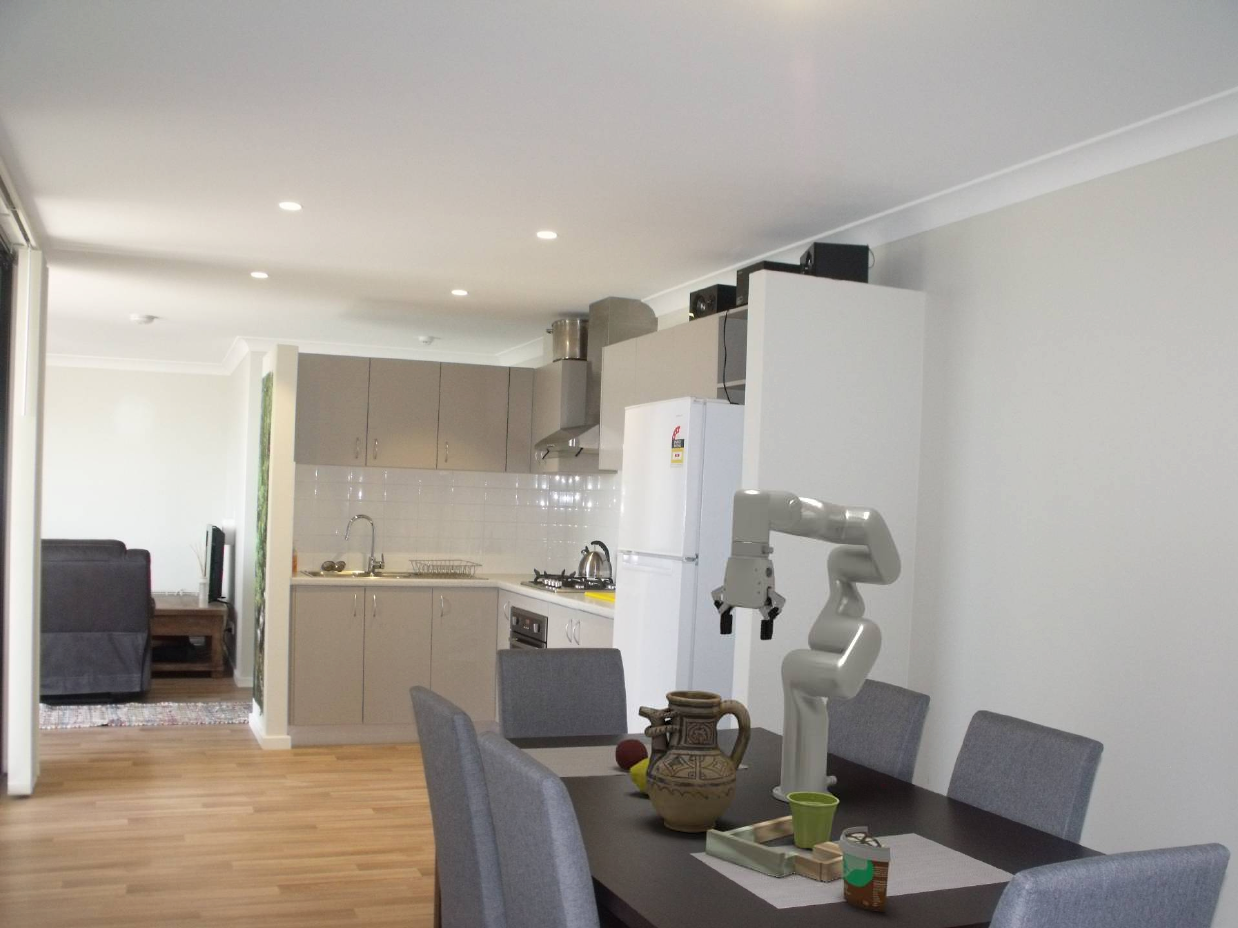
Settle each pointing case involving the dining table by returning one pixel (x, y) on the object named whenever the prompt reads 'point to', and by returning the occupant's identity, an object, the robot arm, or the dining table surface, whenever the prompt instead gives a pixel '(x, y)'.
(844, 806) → the dining table surface
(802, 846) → the plant pot
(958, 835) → the dining table surface
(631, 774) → the lemon
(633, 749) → the dark red ball
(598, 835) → the dining table surface
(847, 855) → the food container
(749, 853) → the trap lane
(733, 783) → the decorative pitcher
